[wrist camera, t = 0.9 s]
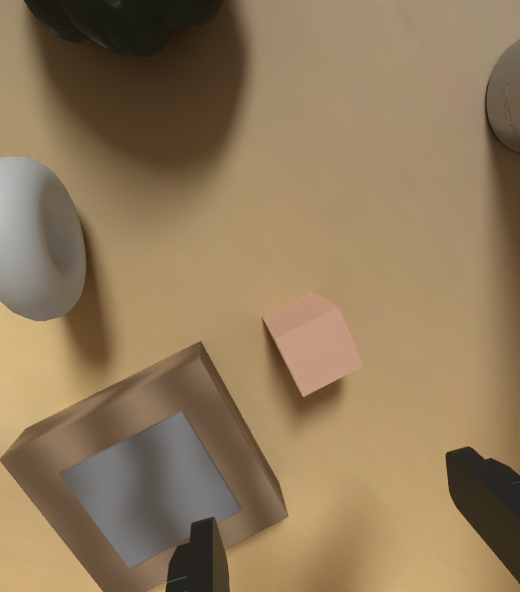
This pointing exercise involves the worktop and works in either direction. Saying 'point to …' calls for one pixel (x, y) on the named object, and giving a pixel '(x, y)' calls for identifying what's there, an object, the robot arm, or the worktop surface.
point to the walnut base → (147, 471)
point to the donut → (38, 242)
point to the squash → (122, 21)
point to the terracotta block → (313, 341)
